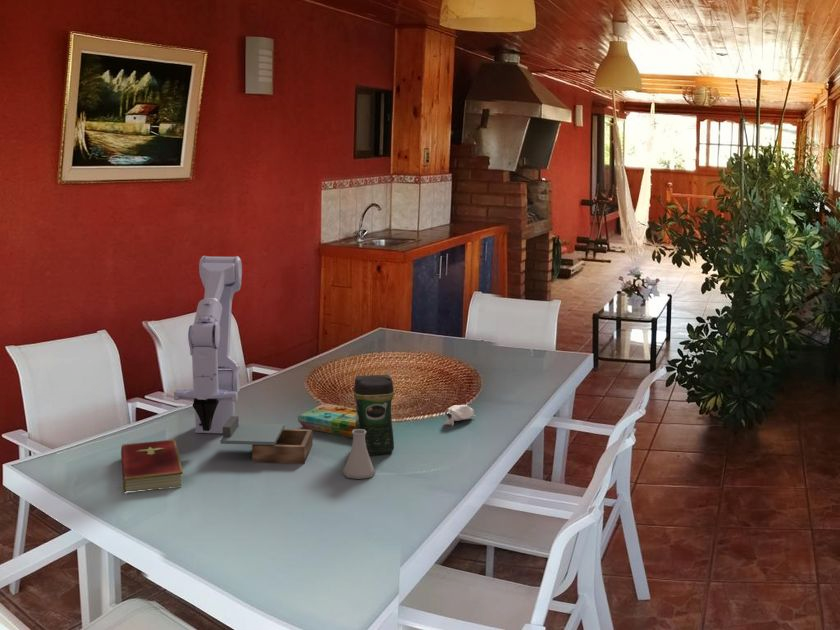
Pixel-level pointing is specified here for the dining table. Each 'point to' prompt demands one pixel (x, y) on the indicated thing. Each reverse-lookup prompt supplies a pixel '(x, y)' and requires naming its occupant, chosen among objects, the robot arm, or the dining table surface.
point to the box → (285, 448)
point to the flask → (359, 458)
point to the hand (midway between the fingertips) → (207, 429)
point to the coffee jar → (375, 411)
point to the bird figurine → (458, 413)
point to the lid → (250, 433)
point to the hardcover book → (150, 465)
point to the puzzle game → (330, 419)
